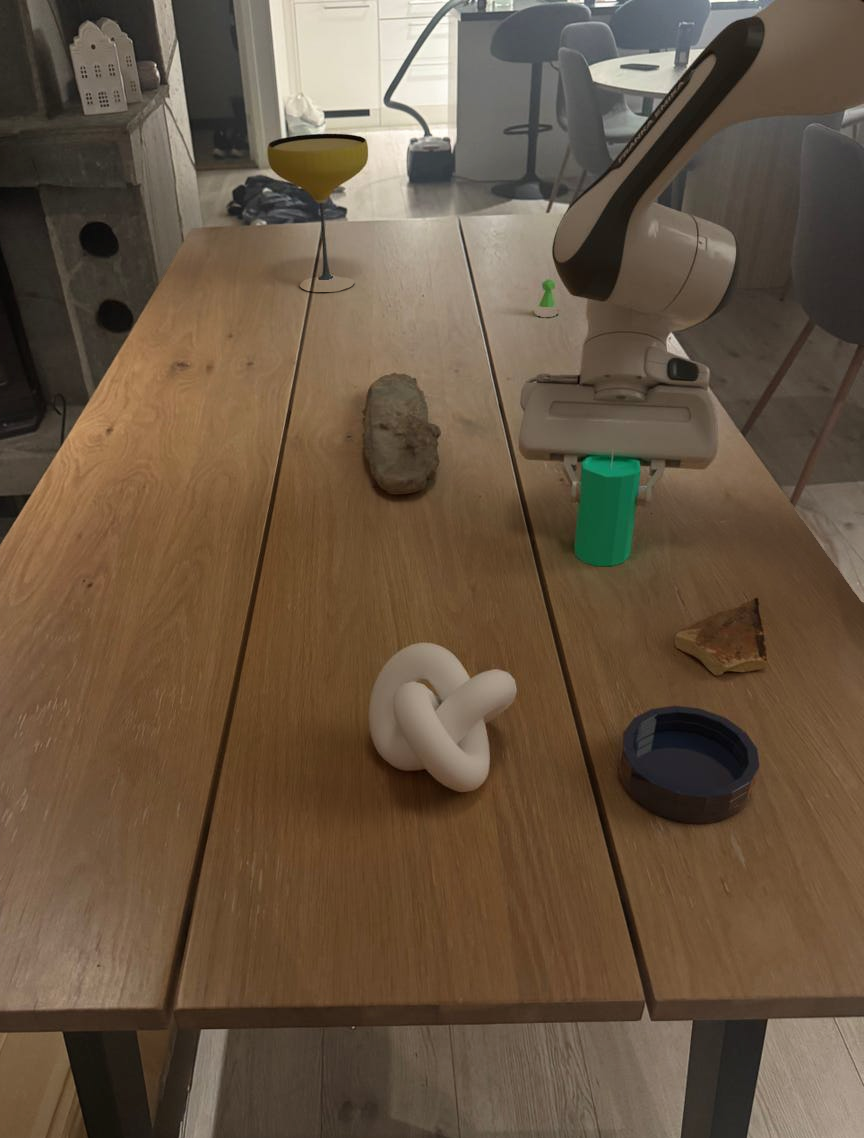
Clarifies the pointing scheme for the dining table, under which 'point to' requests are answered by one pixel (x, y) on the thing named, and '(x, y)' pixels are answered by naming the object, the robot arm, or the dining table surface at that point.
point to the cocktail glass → (318, 167)
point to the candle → (606, 509)
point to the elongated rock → (399, 435)
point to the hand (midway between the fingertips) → (610, 502)
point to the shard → (727, 640)
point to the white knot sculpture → (437, 715)
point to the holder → (688, 764)
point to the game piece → (548, 294)
